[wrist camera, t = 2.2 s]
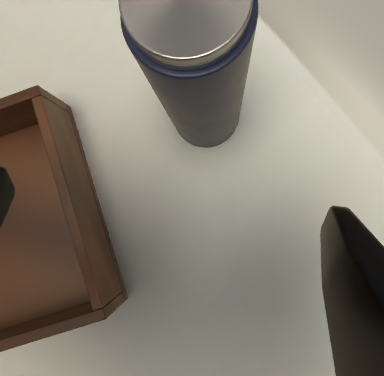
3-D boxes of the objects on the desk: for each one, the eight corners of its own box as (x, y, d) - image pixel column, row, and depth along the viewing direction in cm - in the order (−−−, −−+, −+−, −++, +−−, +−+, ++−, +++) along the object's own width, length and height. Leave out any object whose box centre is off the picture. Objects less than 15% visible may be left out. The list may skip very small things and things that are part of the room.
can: (247, 135, 21) (283, 36, 9) (185, 156, 22) (136, 88, 9) (227, 74, 22) (233, -102, 9) (165, 95, 22) (92, -48, 10)
